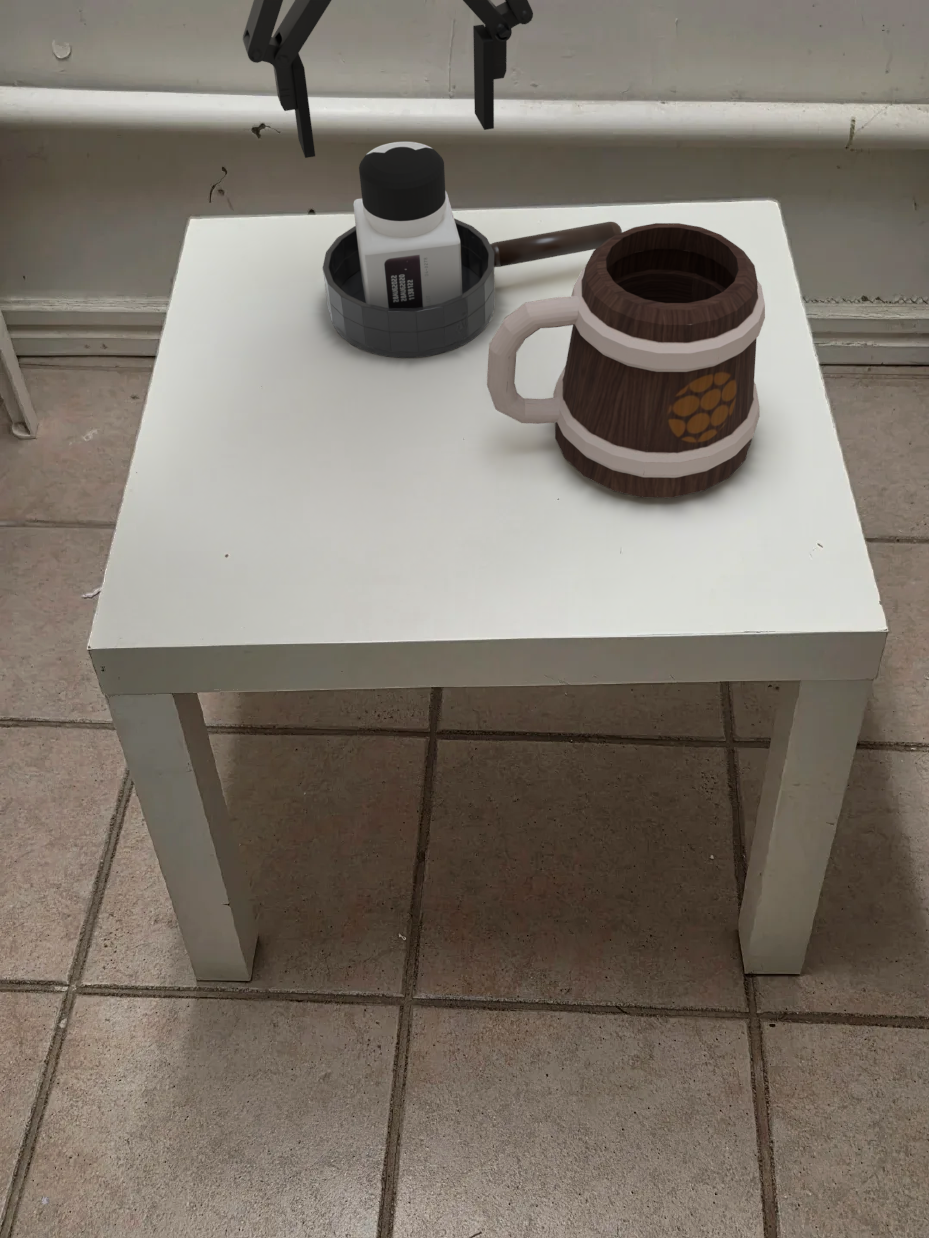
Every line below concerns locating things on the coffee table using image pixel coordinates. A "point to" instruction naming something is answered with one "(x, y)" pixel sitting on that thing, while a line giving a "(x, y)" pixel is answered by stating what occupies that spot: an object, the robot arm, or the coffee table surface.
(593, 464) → the mug
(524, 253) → the pan handle
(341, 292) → the pan
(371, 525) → the coffee table surface
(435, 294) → the container
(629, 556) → the coffee table surface
